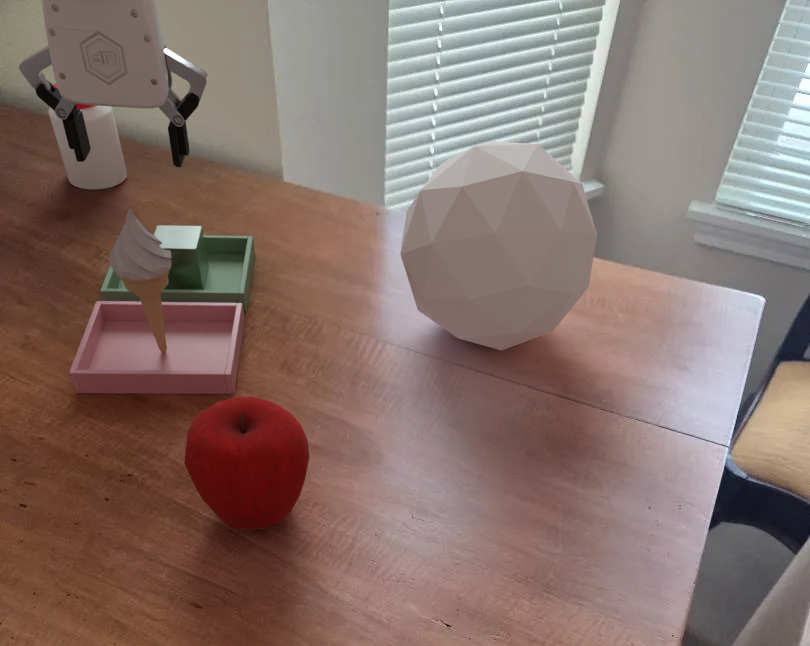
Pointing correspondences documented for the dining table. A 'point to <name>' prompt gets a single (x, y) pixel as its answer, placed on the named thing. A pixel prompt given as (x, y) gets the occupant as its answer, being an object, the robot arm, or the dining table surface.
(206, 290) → the green tray
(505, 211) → the ball
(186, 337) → the pink tray
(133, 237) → the ice cream cone
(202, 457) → the apple
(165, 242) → the green block
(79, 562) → the dining table surface
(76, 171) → the pill bottle
